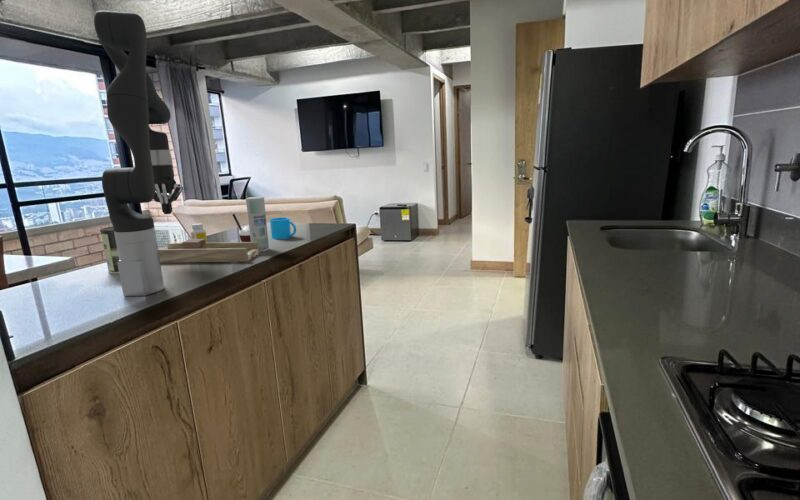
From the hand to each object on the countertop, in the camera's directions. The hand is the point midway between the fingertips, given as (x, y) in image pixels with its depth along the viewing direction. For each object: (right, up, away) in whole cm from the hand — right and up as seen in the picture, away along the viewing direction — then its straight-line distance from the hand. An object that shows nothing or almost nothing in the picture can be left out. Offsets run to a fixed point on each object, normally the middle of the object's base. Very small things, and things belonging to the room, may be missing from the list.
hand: (168, 213), depth 148 cm
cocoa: (+18, -10, +28) cm, 35 cm away
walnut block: (+8, -14, +3) cm, 16 cm away
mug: (+31, -7, +36) cm, 48 cm away
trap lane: (+12, -16, +3) cm, 20 cm away
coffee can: (-8, -19, -9) cm, 23 cm away
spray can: (+28, -13, +13) cm, 34 cm away
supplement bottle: (+2, -12, +19) cm, 23 cm away
